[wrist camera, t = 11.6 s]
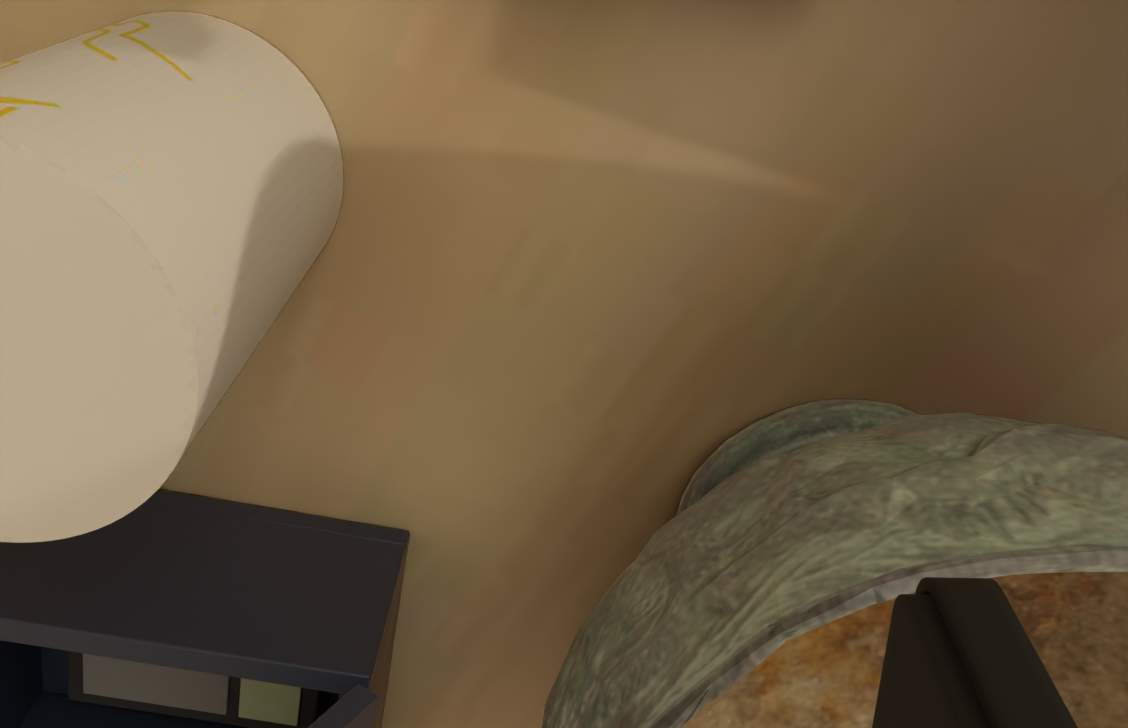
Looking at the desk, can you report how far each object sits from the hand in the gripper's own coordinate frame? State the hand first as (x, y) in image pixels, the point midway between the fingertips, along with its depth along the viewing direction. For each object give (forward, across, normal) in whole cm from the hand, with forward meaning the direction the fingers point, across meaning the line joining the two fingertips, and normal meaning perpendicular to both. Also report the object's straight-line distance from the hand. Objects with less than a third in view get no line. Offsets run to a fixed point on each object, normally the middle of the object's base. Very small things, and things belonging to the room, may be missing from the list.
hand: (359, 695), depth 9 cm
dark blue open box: (+21, +11, +17) cm, 29 cm away
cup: (+21, +9, +1) cm, 23 cm away
